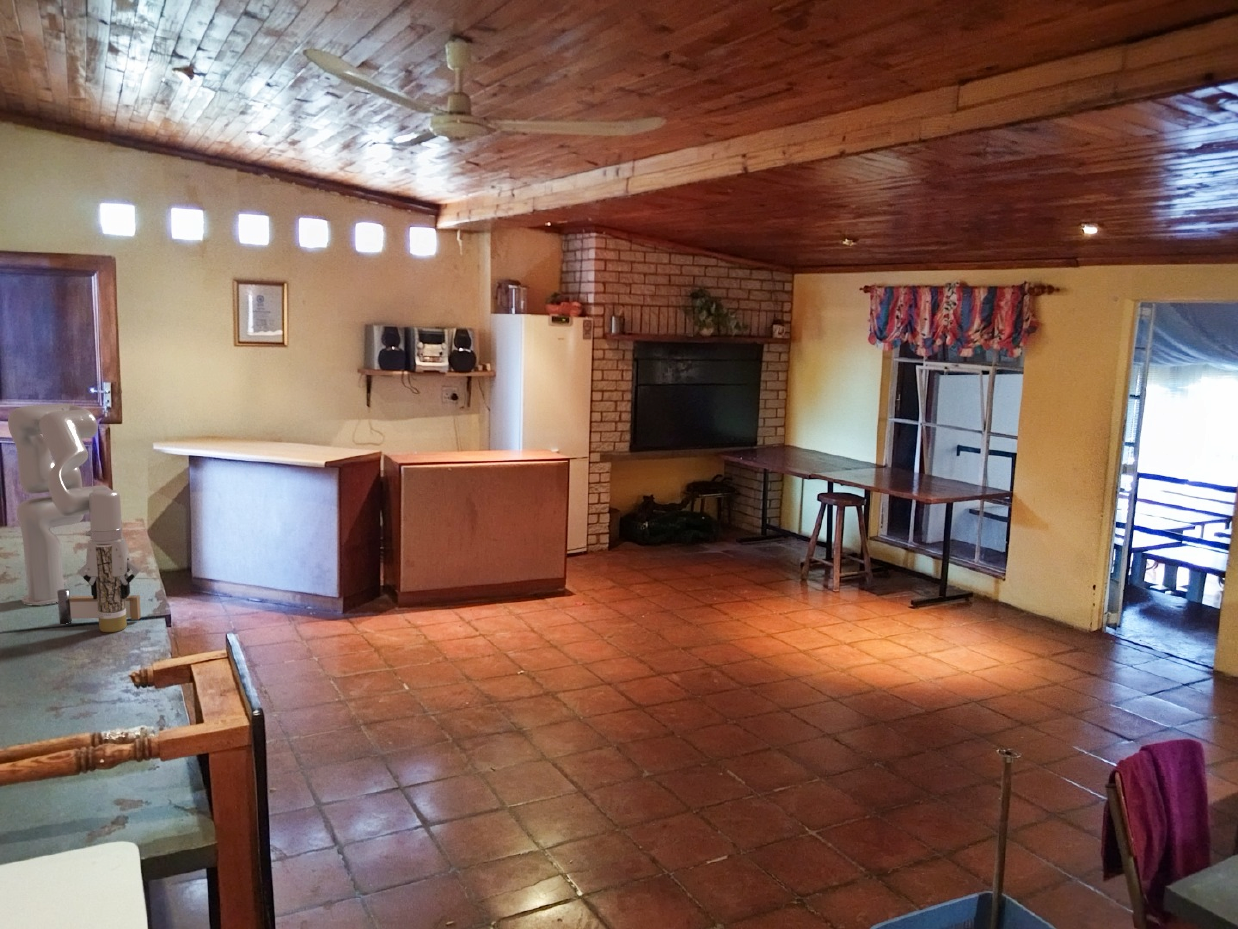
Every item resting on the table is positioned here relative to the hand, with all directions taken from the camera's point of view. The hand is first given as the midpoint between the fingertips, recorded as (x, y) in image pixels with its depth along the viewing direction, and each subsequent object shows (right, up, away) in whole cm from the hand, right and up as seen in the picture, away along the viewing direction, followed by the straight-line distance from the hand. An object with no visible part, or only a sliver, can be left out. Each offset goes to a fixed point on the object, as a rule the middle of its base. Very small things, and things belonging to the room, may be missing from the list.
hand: (111, 597), depth 257 cm
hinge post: (-16, -8, +6) cm, 19 cm away
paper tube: (0, -9, +2) cm, 10 cm away
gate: (-5, -7, +7) cm, 11 cm away
